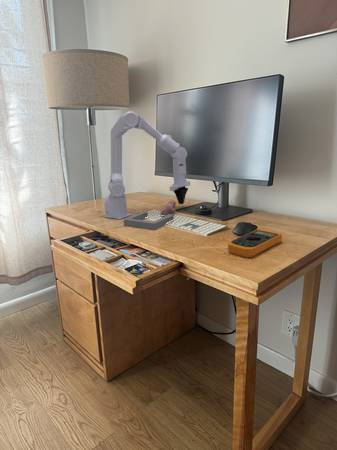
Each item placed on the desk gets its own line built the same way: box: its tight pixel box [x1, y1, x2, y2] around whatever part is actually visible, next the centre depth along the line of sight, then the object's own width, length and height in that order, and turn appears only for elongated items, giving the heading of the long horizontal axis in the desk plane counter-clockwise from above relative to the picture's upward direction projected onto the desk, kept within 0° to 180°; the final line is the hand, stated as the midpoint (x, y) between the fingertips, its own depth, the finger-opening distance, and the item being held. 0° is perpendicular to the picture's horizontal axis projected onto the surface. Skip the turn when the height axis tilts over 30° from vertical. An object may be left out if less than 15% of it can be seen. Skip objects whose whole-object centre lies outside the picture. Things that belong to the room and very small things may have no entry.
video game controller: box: [159, 200, 177, 216], centre depth 136 cm, size 10×5×7 cm, turn 168°
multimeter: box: [227, 228, 283, 259], centre depth 94 cm, size 9×18×3 cm, turn 132°
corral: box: [123, 211, 175, 231], centre depth 124 cm, size 15×13×2 cm
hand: (181, 203), depth 143 cm, fingers closed
